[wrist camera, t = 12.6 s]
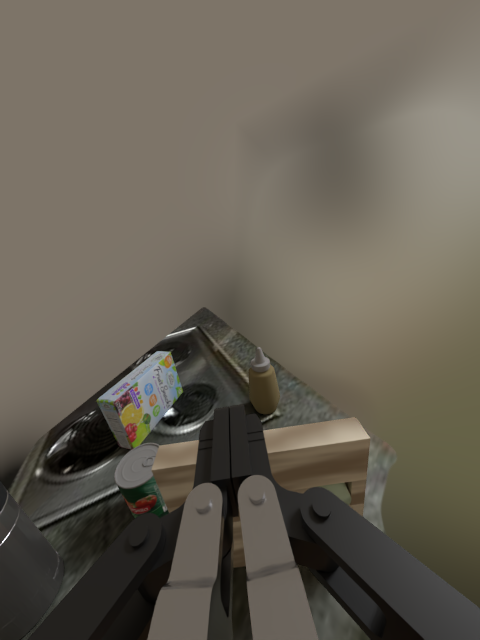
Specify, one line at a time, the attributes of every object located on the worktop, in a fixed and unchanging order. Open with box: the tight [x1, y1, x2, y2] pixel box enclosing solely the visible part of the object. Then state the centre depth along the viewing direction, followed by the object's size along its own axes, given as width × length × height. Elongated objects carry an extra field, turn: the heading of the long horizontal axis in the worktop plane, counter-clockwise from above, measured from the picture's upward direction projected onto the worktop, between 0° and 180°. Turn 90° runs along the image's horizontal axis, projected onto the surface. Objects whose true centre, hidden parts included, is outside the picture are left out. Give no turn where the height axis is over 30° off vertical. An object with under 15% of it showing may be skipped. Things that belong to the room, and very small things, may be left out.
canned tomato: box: [114, 443, 169, 519], centre depth 40 cm, size 8×8×11 cm
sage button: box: [317, 483, 351, 506], centre depth 29 cm, size 4×4×4 cm
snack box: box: [97, 351, 183, 450], centre depth 60 cm, size 21×6×15 cm, turn 161°
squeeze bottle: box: [249, 347, 280, 414], centre depth 57 cm, size 8×8×18 cm
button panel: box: [151, 417, 370, 568], centre depth 33 cm, size 10×24×22 cm, turn 93°
